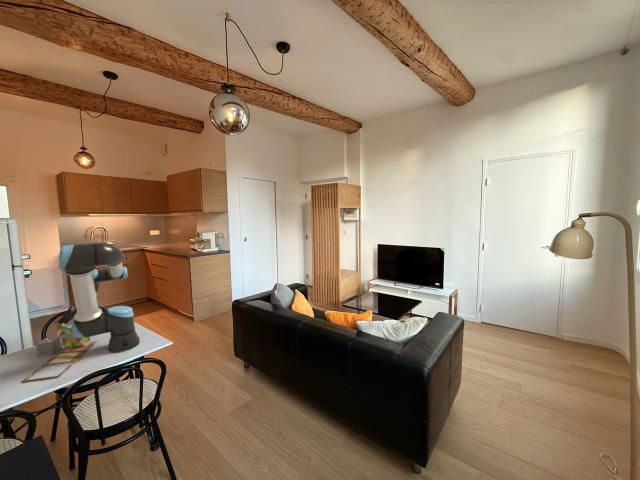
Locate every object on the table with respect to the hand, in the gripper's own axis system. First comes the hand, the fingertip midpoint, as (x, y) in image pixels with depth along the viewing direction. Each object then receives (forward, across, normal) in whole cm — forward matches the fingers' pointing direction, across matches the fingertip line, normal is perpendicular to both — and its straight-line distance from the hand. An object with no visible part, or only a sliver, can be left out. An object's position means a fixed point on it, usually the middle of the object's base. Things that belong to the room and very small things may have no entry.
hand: (71, 334), depth 153 cm
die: (+6, +13, -8) cm, 16 cm away
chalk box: (+3, 0, -7) cm, 7 cm away
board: (+13, -1, -1) cm, 13 cm away
